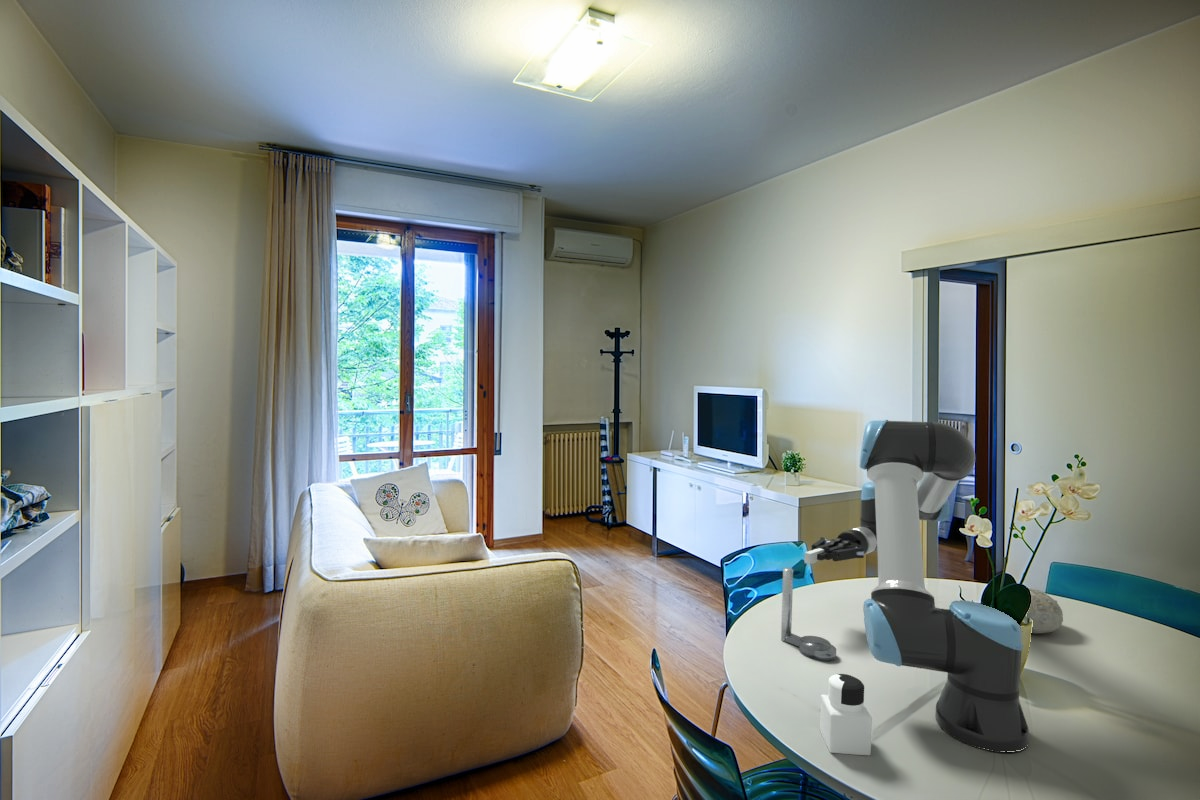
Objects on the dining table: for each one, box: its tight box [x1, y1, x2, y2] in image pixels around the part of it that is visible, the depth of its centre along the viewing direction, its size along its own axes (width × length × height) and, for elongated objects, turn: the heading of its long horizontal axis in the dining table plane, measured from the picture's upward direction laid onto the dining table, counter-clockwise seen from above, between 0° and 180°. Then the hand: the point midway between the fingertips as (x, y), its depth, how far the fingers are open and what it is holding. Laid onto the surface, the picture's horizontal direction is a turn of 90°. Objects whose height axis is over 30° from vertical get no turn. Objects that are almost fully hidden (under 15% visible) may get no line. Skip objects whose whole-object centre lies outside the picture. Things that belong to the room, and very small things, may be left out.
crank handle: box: [780, 567, 837, 663], centre depth 144 cm, size 14×7×18 cm, turn 38°
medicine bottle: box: [819, 673, 873, 756], centre depth 110 cm, size 7×7×12 cm
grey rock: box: [1027, 587, 1064, 634], centre depth 163 cm, size 18×18×10 cm
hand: (807, 558), depth 153 cm, fingers closed
